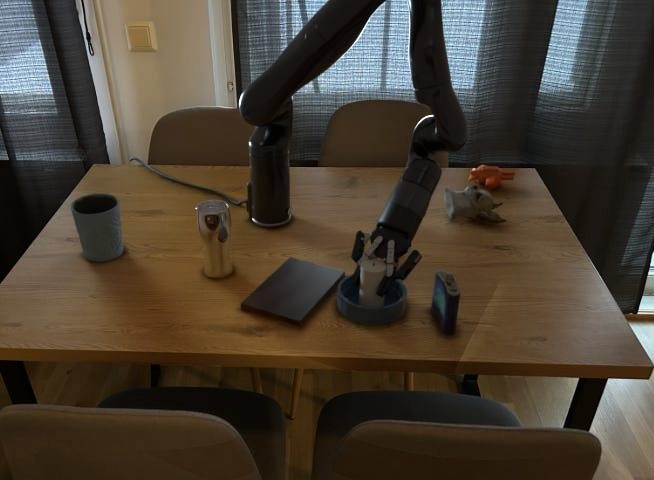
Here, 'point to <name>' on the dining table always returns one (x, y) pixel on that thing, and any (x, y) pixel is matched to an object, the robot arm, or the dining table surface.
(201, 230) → the beer glass
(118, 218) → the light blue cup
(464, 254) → the dining table surface
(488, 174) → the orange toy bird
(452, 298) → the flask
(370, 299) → the candle
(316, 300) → the cutting board
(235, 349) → the dining table surface
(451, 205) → the ceramic sculpture
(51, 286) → the dining table surface
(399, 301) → the bowl
